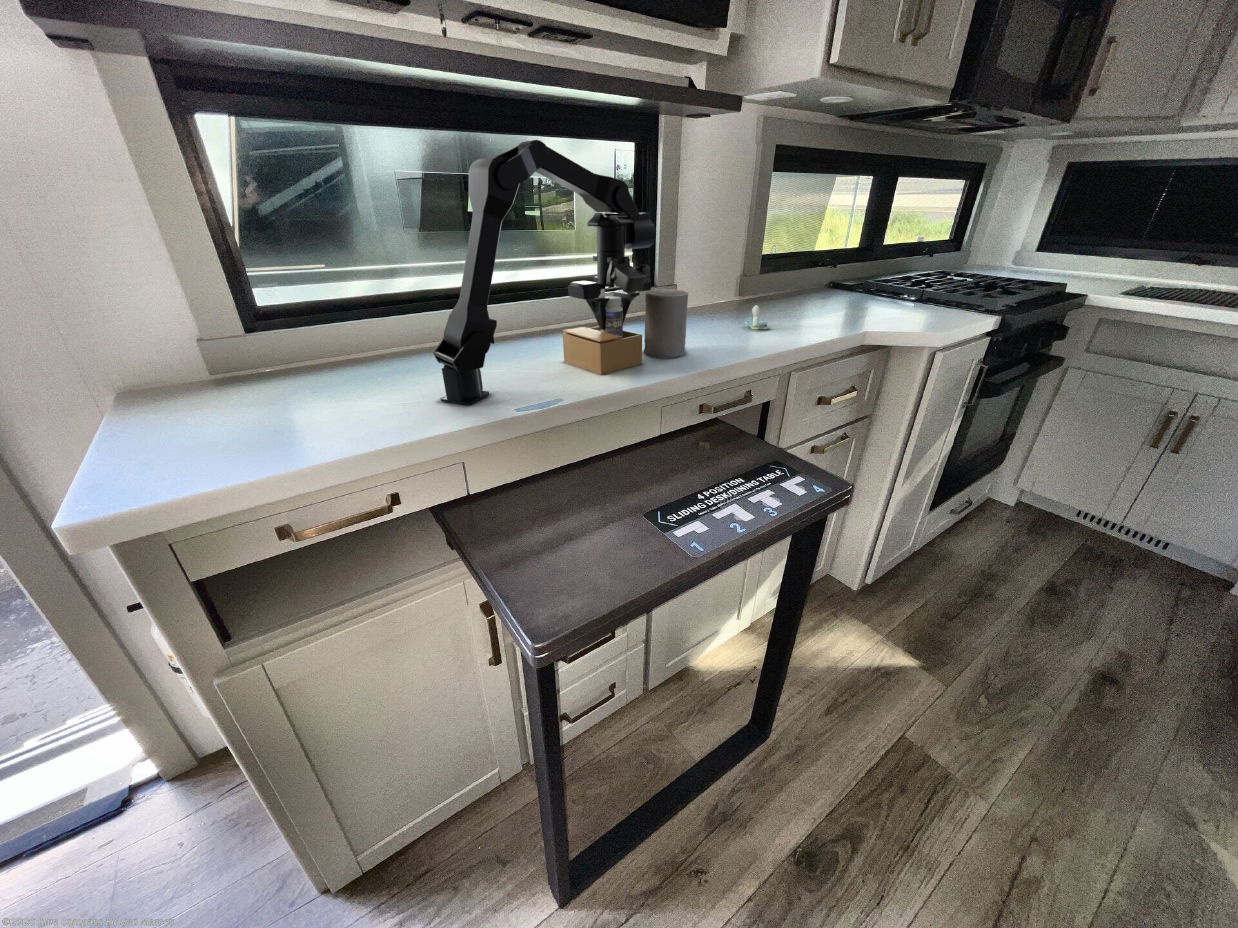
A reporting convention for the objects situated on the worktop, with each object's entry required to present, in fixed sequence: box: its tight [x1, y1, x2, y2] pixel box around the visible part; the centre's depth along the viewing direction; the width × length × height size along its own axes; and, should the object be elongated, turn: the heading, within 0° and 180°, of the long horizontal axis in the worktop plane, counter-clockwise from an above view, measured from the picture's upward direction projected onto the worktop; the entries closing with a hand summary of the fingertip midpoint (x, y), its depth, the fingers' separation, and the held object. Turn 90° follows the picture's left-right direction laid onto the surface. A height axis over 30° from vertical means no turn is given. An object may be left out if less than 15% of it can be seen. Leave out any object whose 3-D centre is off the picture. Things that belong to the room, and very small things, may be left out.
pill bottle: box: [601, 295, 624, 338], centre depth 109 cm, size 5×5×8 cm
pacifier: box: [744, 304, 771, 330], centre depth 140 cm, size 7×6×6 cm
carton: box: [562, 325, 643, 376], centre depth 111 cm, size 12×13×6 cm
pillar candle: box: [643, 285, 689, 359], centre depth 116 cm, size 10×10×15 cm
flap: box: [562, 326, 621, 342], centre depth 107 cm, size 6×13×1 cm, turn 42°
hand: (611, 327), depth 110 cm, fingers closed on pill bottle, 5 cm apart
